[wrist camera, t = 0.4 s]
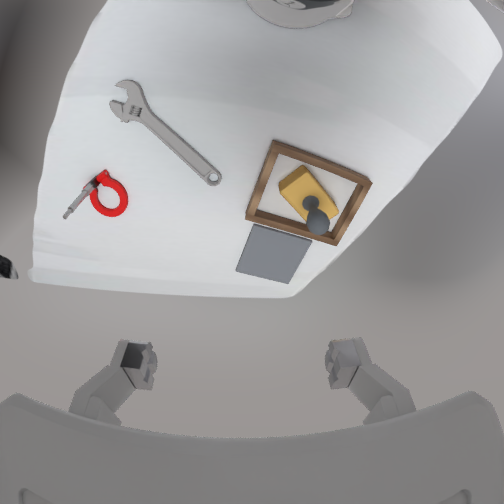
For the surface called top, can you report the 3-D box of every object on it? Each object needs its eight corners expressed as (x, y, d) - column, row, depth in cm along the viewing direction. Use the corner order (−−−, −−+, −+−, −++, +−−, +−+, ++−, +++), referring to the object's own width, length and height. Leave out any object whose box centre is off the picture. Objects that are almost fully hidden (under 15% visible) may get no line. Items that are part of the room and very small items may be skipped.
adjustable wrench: (225, 176, 46) (224, 180, 45) (198, 196, 49) (196, 201, 47) (130, 74, 34) (125, 74, 32) (105, 101, 36) (101, 102, 35)
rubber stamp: (277, 183, 47) (284, 219, 37) (303, 163, 44) (318, 194, 35) (310, 220, 51) (323, 261, 42) (335, 203, 49) (354, 240, 39)
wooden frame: (272, 140, 42) (274, 143, 40) (367, 177, 45) (372, 183, 43) (245, 212, 50) (245, 219, 48) (333, 238, 54) (336, 246, 52)
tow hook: (137, 202, 49) (109, 165, 43) (112, 244, 39) (75, 201, 34) (109, 220, 51) (82, 187, 46) (83, 262, 41) (49, 224, 36)
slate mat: (253, 223, 51) (254, 225, 51) (311, 240, 54) (311, 242, 53) (235, 269, 58) (235, 271, 58) (288, 282, 61) (288, 283, 60)
